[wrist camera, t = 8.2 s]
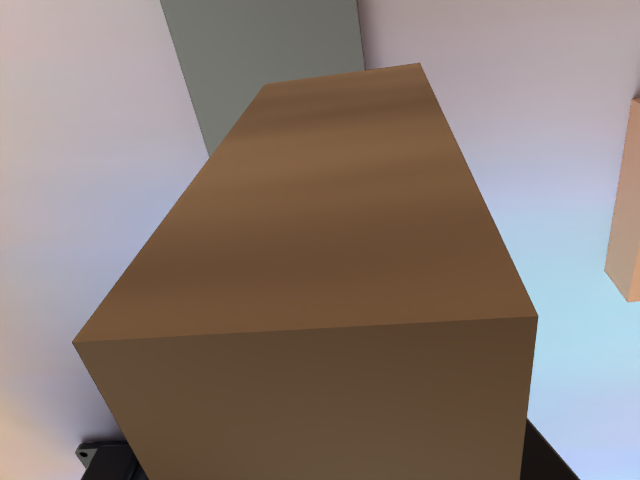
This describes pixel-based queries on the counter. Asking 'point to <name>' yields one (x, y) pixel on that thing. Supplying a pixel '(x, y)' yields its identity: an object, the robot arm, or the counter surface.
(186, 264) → the tan long block
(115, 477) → the robot arm
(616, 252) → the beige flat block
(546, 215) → the counter surface
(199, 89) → the mat
